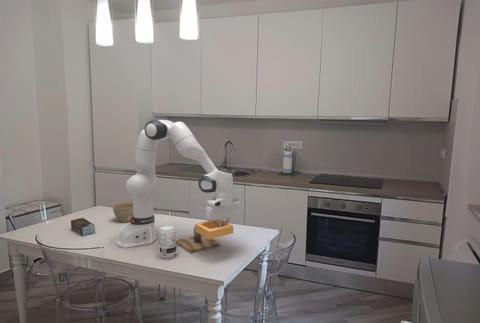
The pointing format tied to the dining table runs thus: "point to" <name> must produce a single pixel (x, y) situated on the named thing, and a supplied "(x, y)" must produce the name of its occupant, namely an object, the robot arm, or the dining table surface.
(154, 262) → the dining table surface
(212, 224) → the orange square tray
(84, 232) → the beverage carton
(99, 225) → the dining table surface
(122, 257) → the dining table surface
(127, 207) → the planter bowl
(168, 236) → the supplement can
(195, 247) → the wooden peg stand
